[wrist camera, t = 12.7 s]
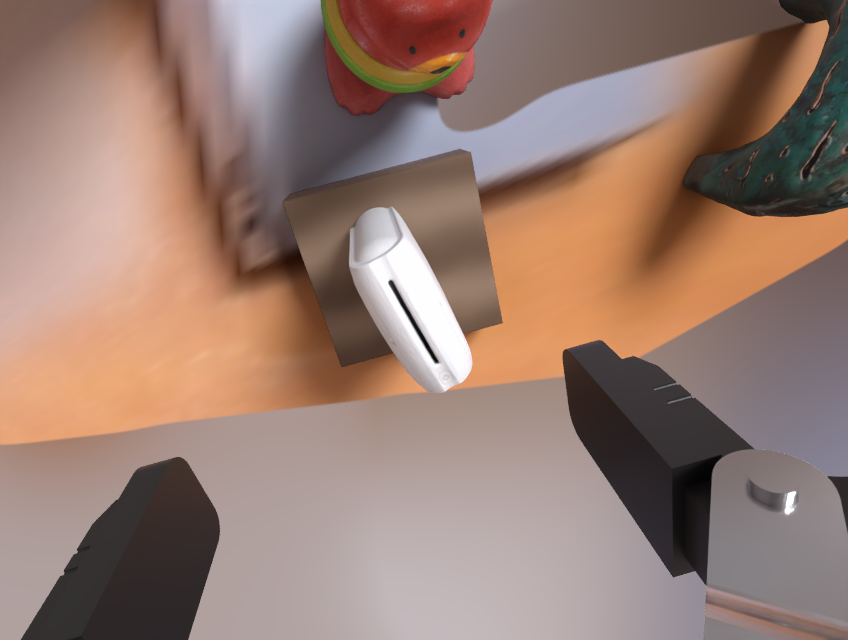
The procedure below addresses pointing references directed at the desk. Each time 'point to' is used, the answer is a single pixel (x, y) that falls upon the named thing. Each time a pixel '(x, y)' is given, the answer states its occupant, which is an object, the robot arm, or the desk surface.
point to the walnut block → (428, 223)
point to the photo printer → (407, 301)
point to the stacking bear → (400, 48)
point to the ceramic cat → (792, 139)
